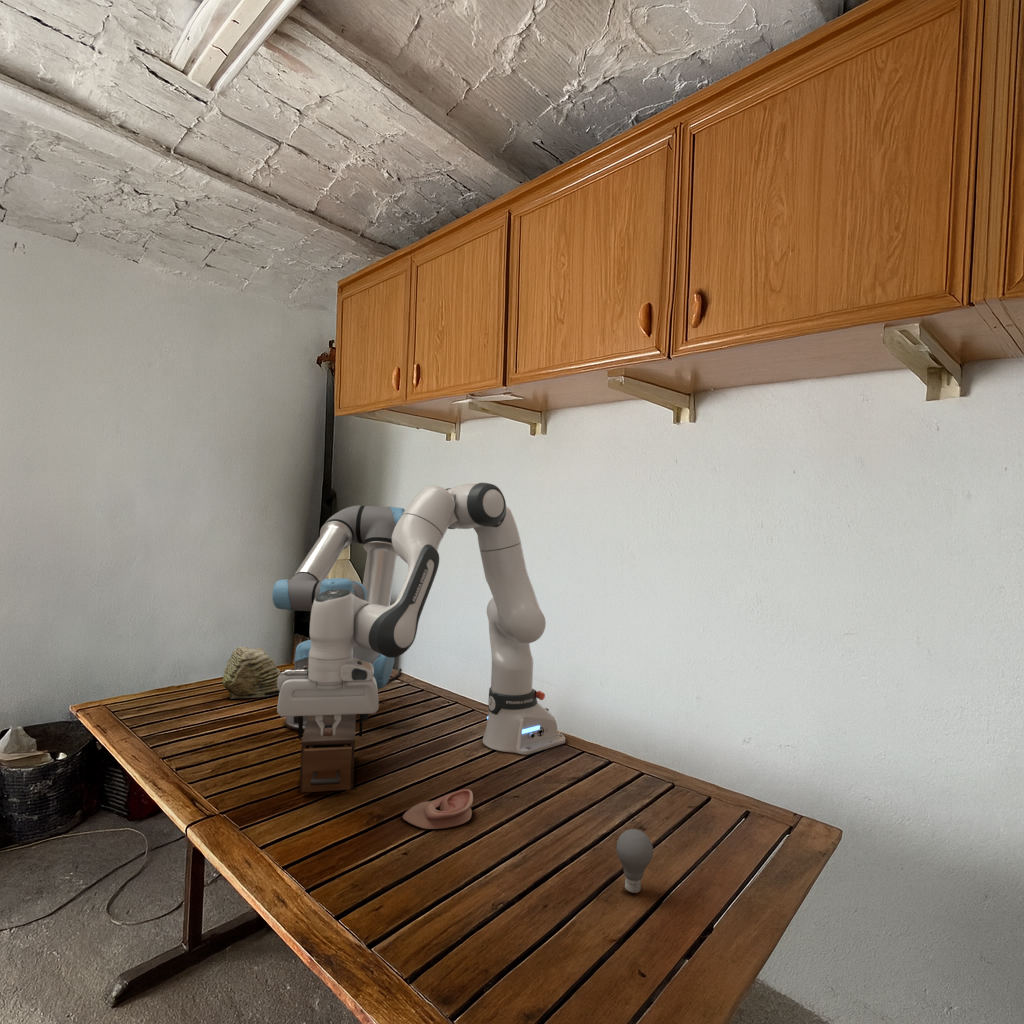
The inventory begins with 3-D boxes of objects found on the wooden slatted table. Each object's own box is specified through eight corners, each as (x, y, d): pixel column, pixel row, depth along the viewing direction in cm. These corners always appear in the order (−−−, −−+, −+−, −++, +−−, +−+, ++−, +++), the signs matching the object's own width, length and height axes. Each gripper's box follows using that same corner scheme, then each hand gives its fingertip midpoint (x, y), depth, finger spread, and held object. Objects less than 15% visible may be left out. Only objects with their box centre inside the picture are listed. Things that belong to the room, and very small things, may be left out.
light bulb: (610, 879, 108) (613, 822, 108) (644, 879, 109) (647, 822, 109) (619, 902, 102) (622, 840, 102) (655, 901, 103) (658, 840, 103)
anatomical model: (397, 804, 123) (417, 779, 135) (396, 824, 123) (417, 798, 135) (462, 814, 121) (478, 788, 132) (462, 835, 121) (477, 807, 132)
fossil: (218, 695, 195) (220, 647, 195) (278, 685, 208) (279, 640, 207) (228, 703, 189) (230, 653, 188) (289, 692, 201) (290, 645, 201)
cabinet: (353, 788, 138) (355, 739, 138) (299, 792, 136) (301, 741, 135) (354, 758, 154) (356, 713, 154) (306, 760, 151) (308, 715, 151)
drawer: (349, 801, 130) (351, 758, 130) (299, 804, 128) (300, 760, 128) (351, 761, 150) (353, 723, 150) (307, 763, 148) (309, 725, 147)
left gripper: (275, 649, 141) (271, 743, 142) (389, 648, 147) (385, 739, 147) (280, 642, 149) (276, 731, 149) (388, 641, 154) (384, 728, 155)
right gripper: (275, 674, 126) (272, 743, 126) (380, 672, 130) (377, 738, 131) (279, 665, 132) (277, 731, 132) (379, 663, 136) (377, 727, 137)
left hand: (330, 735), depth 148 cm, fingers open, 13 cm apart
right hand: (328, 735), depth 131 cm, fingers closed
